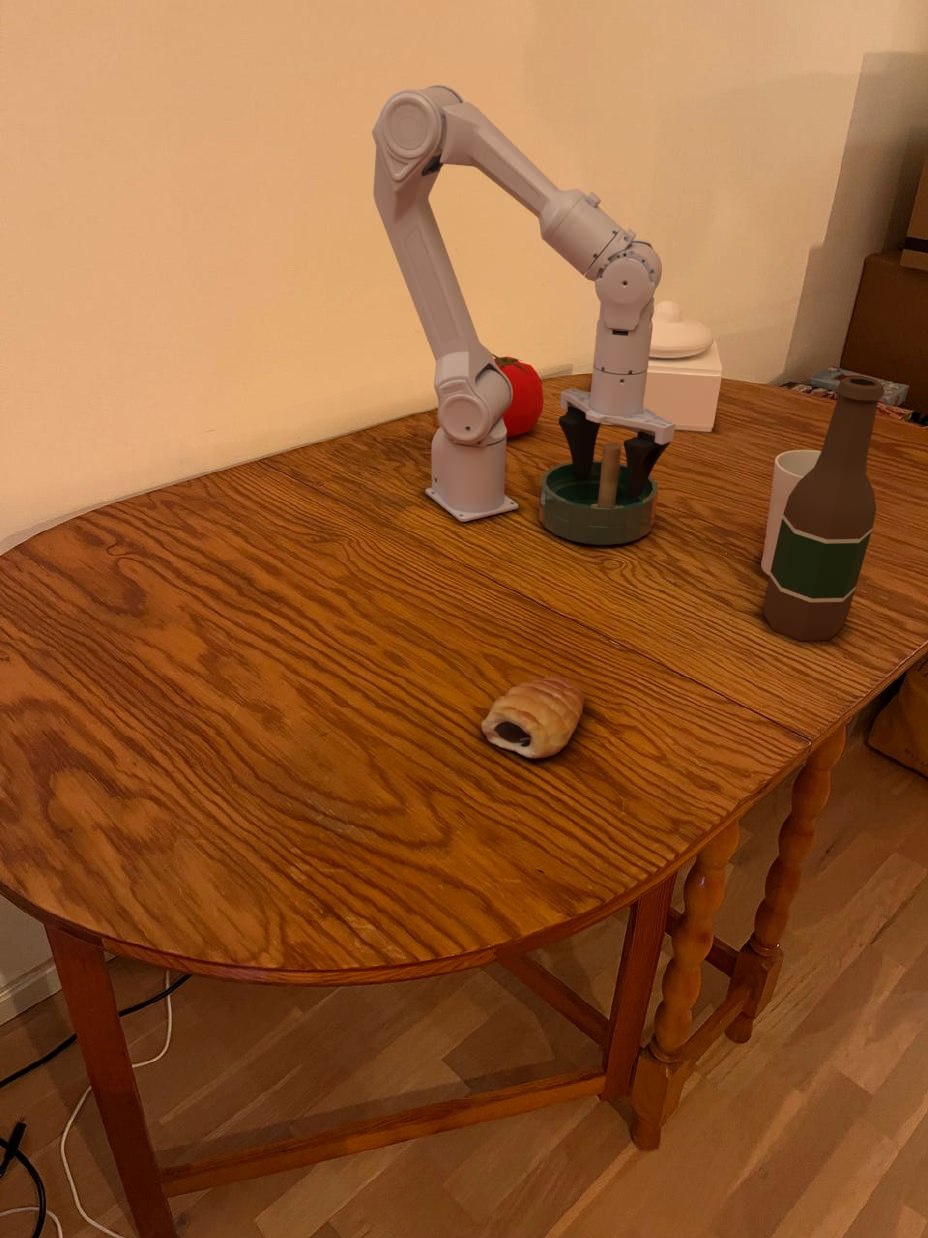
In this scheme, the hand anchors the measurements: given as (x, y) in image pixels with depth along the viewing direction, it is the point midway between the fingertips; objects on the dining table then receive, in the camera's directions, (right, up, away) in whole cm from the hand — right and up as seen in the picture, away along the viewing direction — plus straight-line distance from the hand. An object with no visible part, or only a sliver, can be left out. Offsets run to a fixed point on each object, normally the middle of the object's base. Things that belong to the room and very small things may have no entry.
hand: (607, 484), depth 104 cm
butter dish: (+12, +17, +36) cm, 42 cm away
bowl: (-1, -4, +3) cm, 5 cm away
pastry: (-11, -24, -29) cm, 39 cm away
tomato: (-11, +11, +27) cm, 31 cm away
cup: (+19, -10, -6) cm, 22 cm away
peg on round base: (0, -4, +2) cm, 4 cm away
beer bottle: (+17, -16, -15) cm, 27 cm away
